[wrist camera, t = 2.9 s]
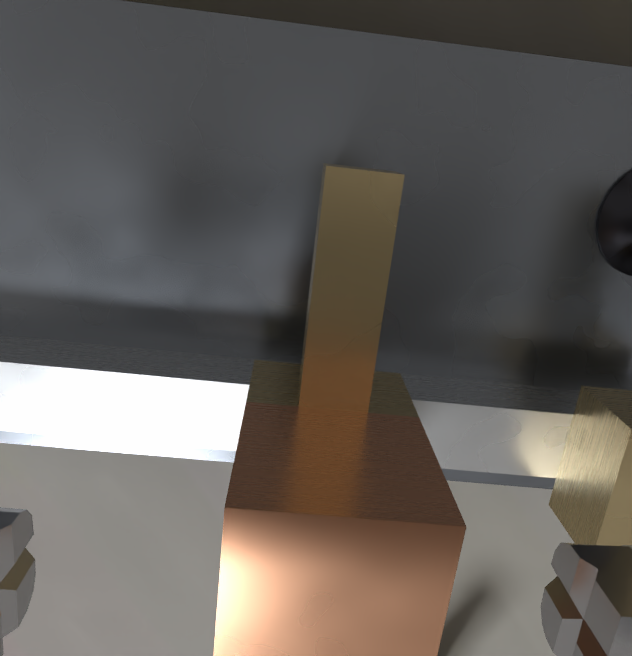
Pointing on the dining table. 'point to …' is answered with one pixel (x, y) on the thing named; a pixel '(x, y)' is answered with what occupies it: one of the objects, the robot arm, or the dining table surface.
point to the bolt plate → (313, 237)
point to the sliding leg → (338, 468)
